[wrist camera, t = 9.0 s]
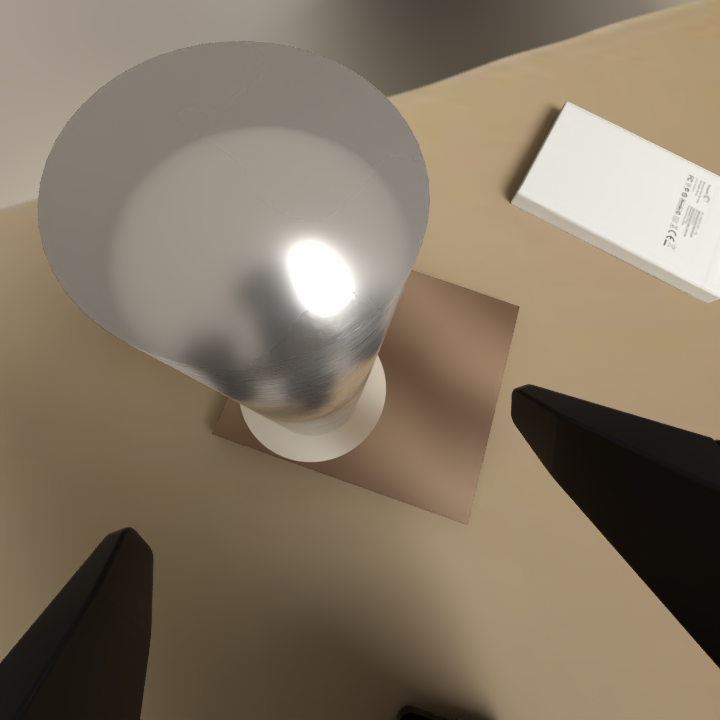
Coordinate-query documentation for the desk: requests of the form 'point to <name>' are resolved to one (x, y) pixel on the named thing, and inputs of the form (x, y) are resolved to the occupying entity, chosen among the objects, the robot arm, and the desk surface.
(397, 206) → the steel pin
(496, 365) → the board
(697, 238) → the external hard drive
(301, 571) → the desk surface
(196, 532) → the desk surface
